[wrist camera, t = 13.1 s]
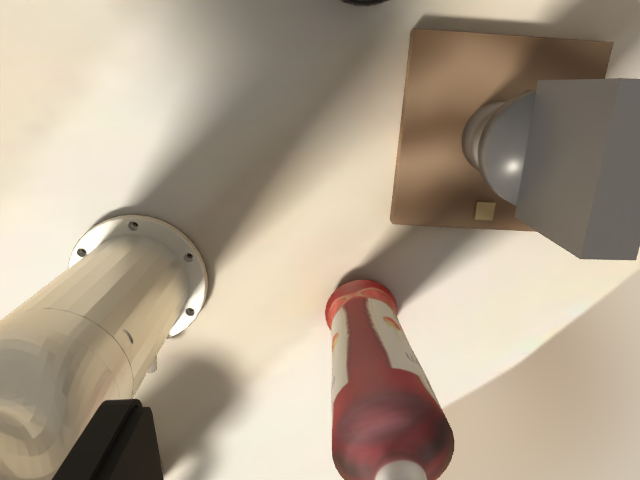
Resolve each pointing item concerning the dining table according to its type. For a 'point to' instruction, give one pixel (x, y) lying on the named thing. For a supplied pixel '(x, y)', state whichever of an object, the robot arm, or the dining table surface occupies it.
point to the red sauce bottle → (381, 393)
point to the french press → (364, 2)
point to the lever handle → (570, 163)
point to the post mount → (470, 118)
